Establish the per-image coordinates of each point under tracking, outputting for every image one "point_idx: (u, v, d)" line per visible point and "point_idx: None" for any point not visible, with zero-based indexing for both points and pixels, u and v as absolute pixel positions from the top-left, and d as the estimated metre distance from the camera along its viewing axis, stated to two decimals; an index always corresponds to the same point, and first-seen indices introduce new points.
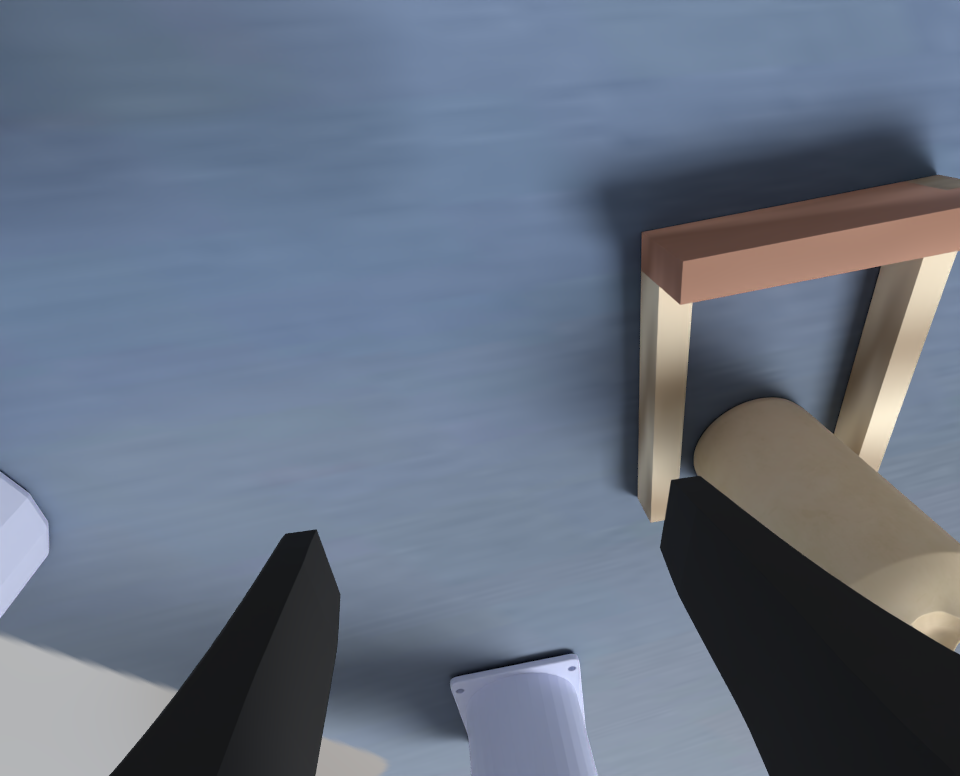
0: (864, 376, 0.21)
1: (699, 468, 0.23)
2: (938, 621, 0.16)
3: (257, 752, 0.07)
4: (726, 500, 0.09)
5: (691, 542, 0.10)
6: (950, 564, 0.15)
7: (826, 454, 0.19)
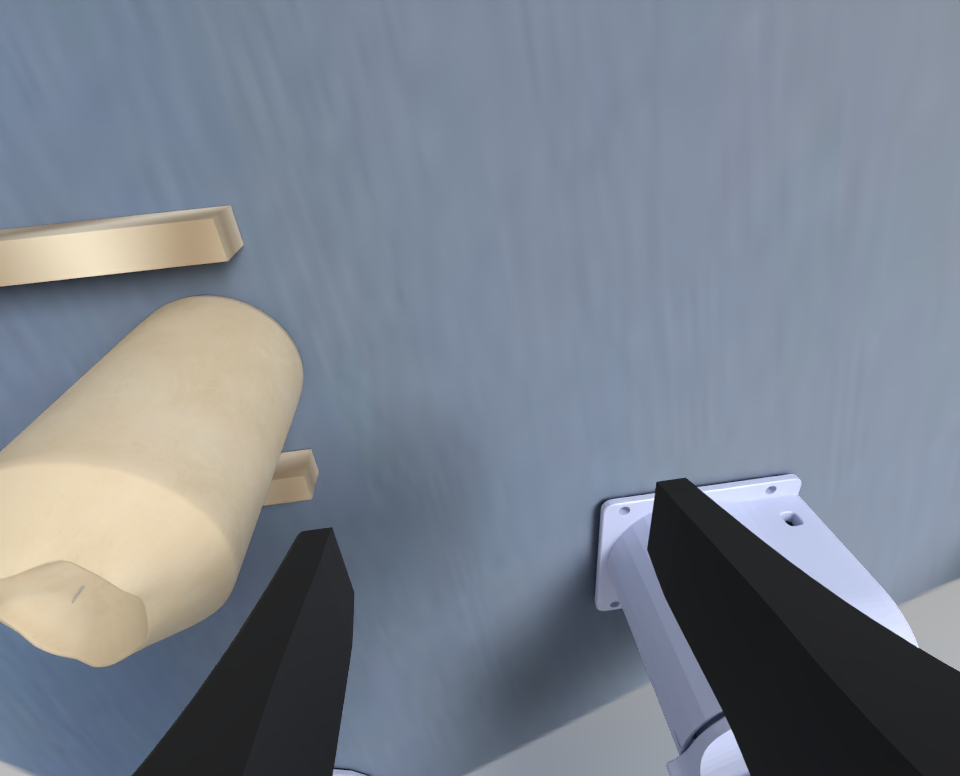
0: None
1: None
2: (52, 568, 0.10)
3: (280, 748, 0.07)
4: (711, 503, 0.09)
5: (676, 544, 0.10)
6: None
7: None
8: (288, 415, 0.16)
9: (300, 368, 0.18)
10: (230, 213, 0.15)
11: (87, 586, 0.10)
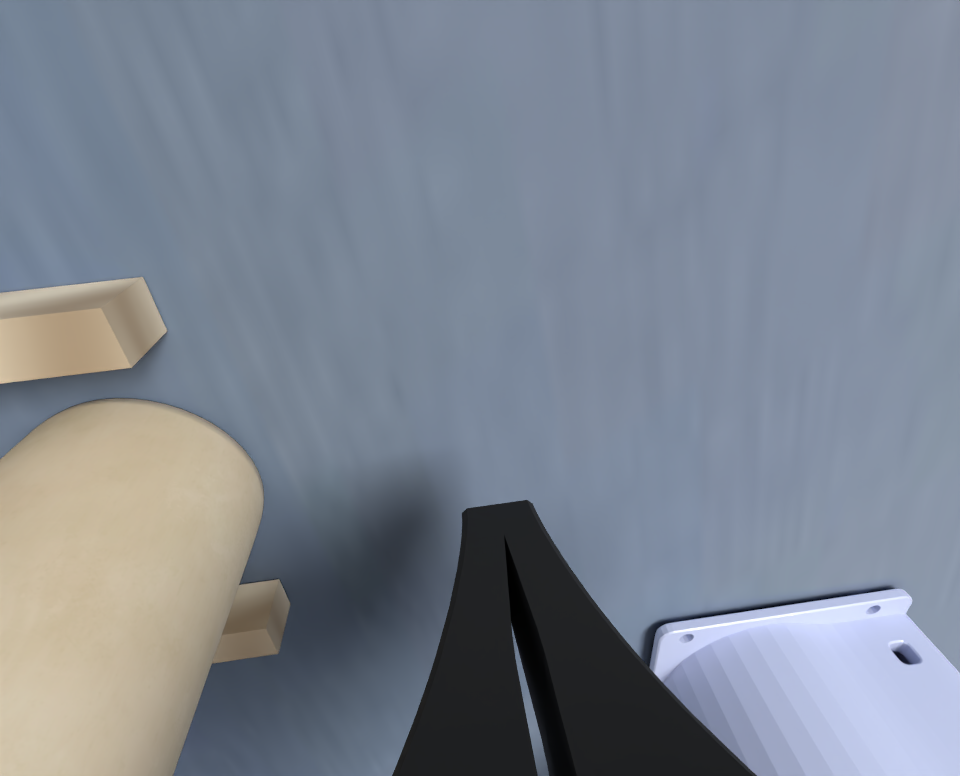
0: None
1: None
2: None
3: None
4: (535, 528, 0.09)
5: (507, 569, 0.09)
6: None
7: None
8: (232, 581, 0.11)
9: (257, 492, 0.13)
10: (141, 289, 0.10)
11: None
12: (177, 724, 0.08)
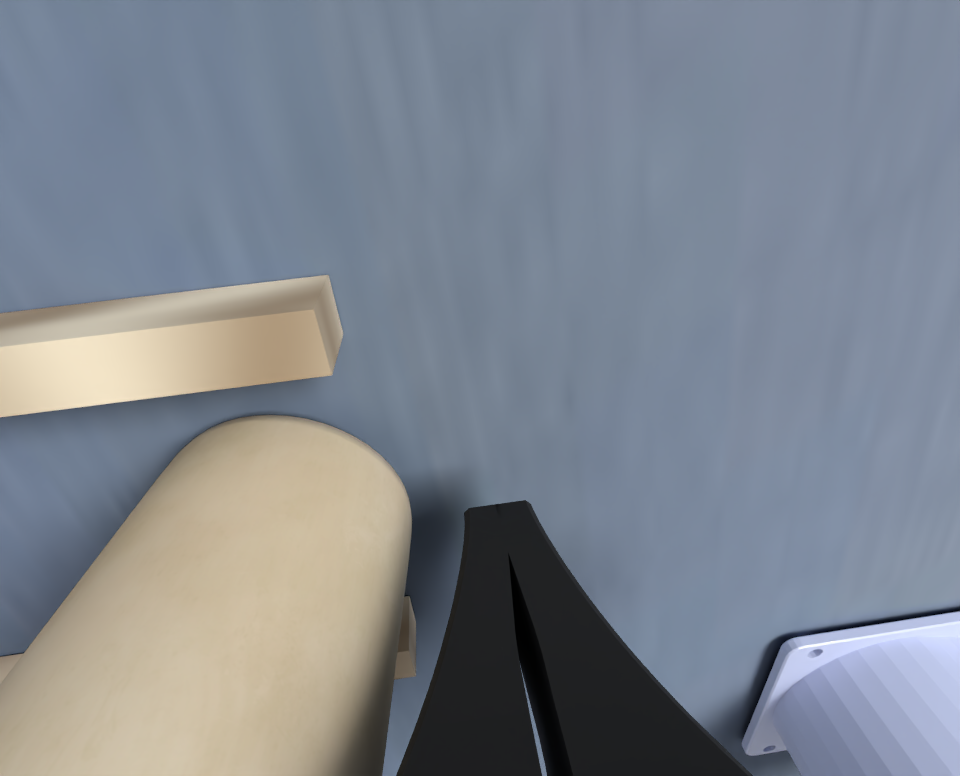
0: None
1: None
2: None
3: None
4: (534, 528, 0.09)
5: None
6: None
7: None
8: (399, 632, 0.09)
9: (410, 523, 0.11)
10: (329, 288, 0.09)
11: None
12: None
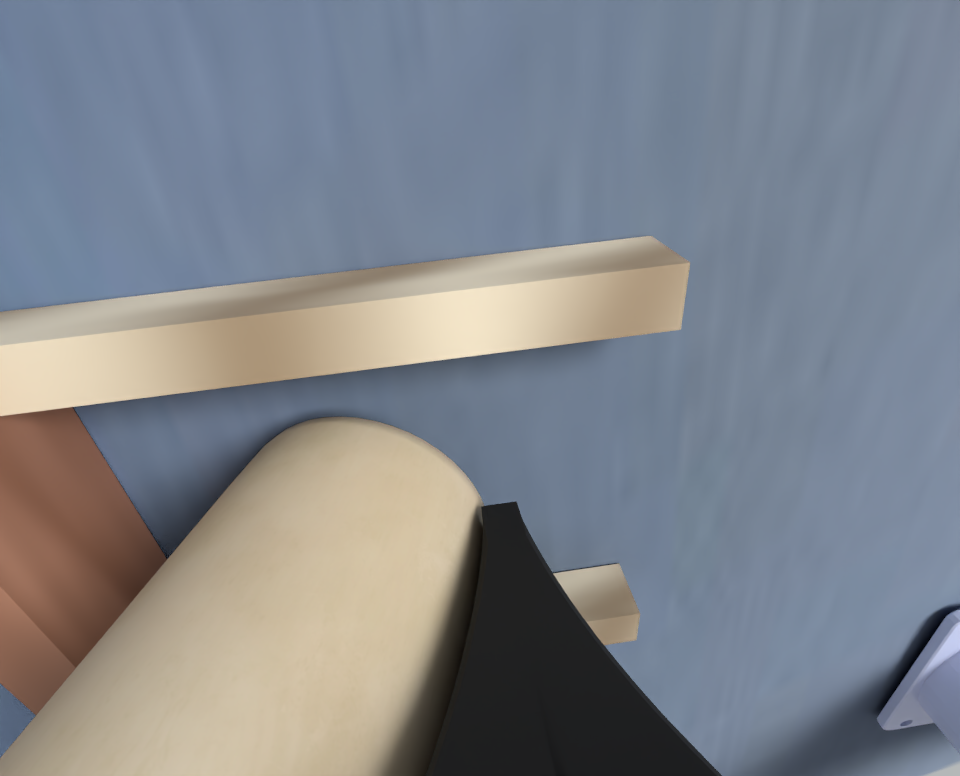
0: None
1: None
2: None
3: None
4: (518, 531, 0.09)
5: None
6: None
7: None
8: None
9: None
10: None
11: None
12: None
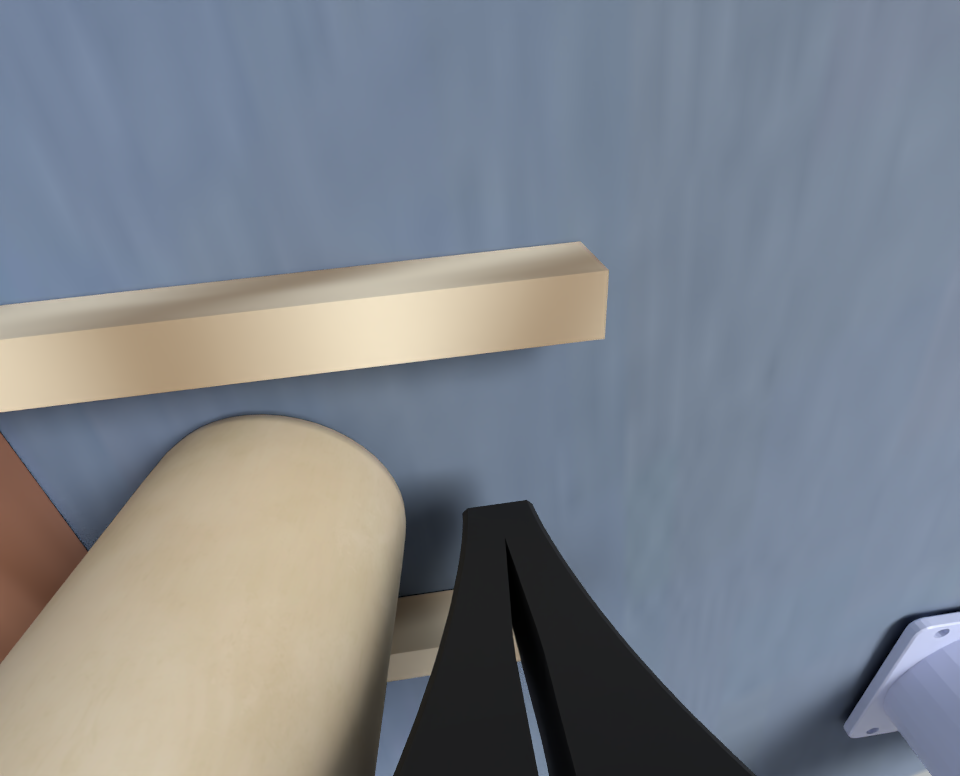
0: None
1: None
2: None
3: None
4: (535, 528, 0.09)
5: None
6: None
7: None
8: (392, 637, 0.09)
9: (404, 525, 0.11)
10: None
11: None
12: None
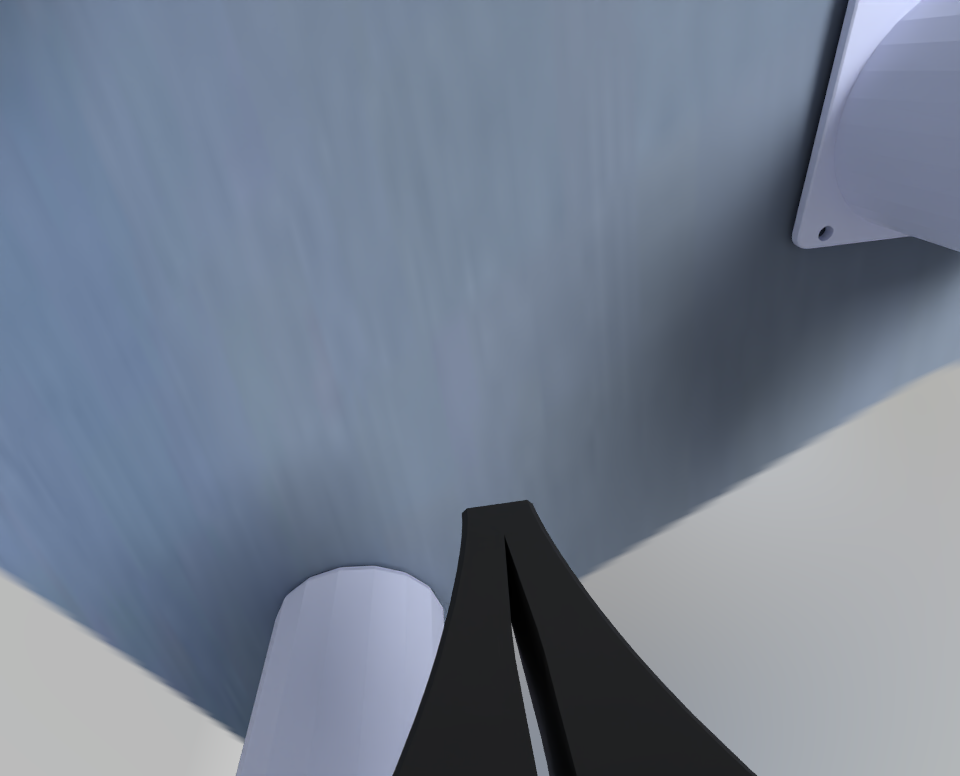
0: None
1: None
2: None
3: None
4: (535, 528, 0.09)
5: (507, 569, 0.09)
6: None
7: None
8: None
9: None
10: None
11: None
12: None
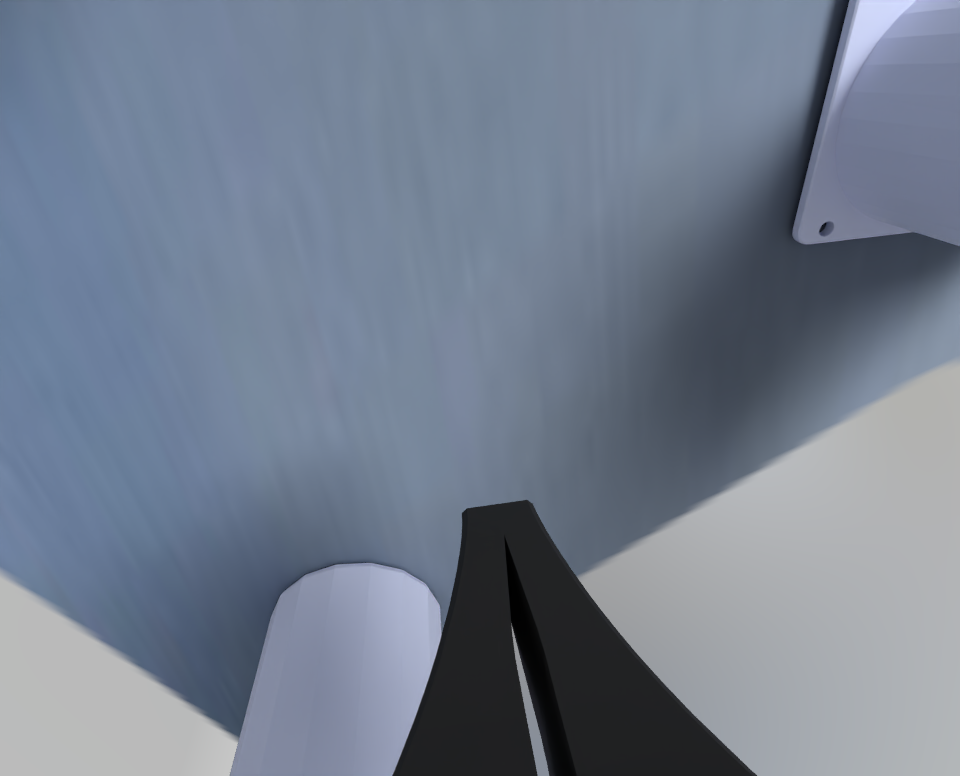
0: None
1: None
2: None
3: None
4: (535, 528, 0.09)
5: (507, 569, 0.09)
6: None
7: None
8: None
9: None
10: None
11: None
12: None
